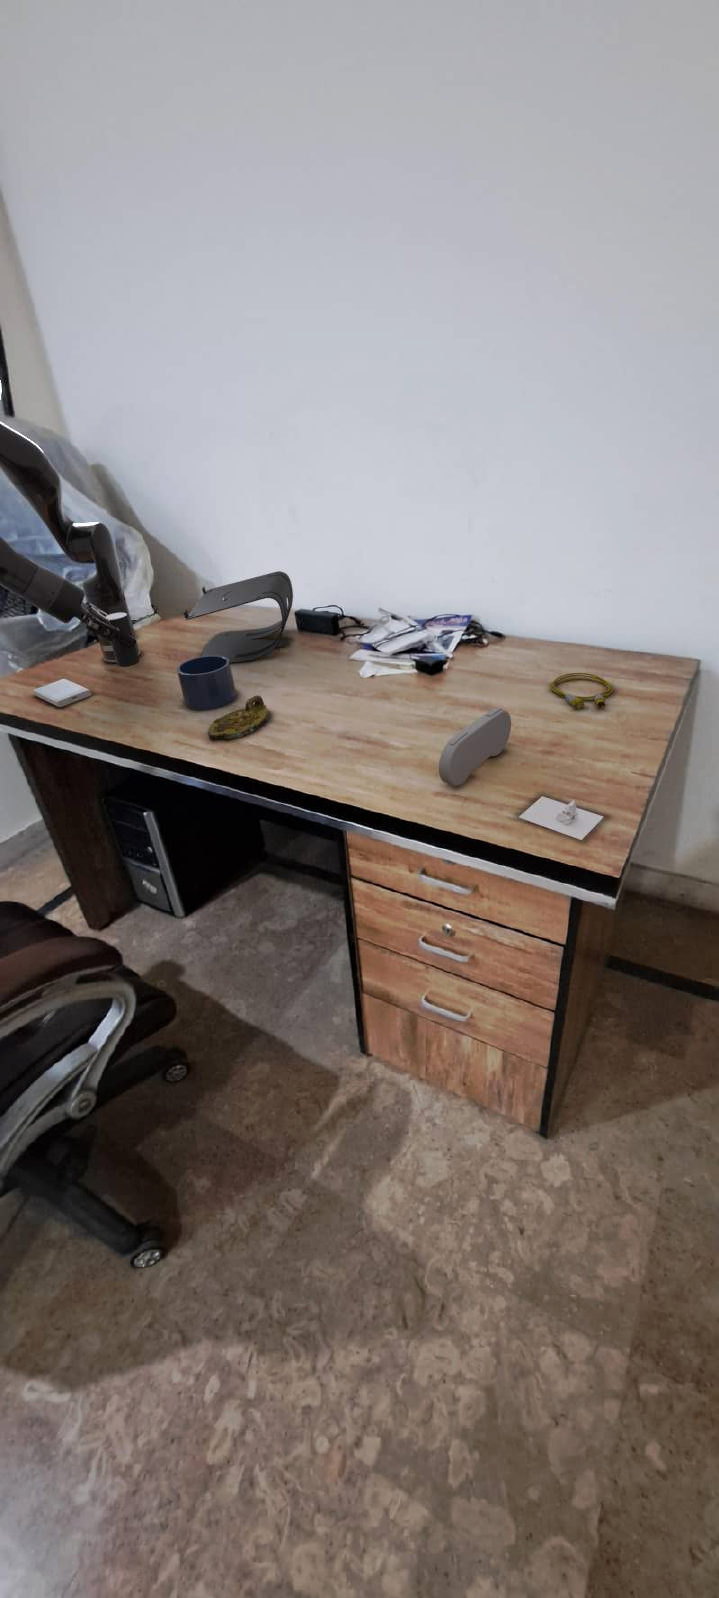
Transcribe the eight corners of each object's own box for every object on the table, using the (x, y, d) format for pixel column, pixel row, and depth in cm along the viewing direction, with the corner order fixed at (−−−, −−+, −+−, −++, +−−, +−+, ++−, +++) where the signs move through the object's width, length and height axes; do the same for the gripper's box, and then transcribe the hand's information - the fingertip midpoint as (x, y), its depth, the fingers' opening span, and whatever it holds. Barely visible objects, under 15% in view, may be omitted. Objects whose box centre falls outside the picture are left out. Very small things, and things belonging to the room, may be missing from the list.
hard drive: (32, 689, 158) (56, 701, 151) (65, 677, 163) (90, 688, 155) (34, 696, 159) (59, 708, 151) (67, 684, 164) (92, 695, 156)
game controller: (499, 742, 121) (500, 699, 116) (510, 745, 119) (512, 702, 115) (437, 790, 109) (436, 745, 104) (449, 794, 107) (448, 748, 103)
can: (180, 696, 151) (172, 662, 147) (229, 684, 155) (222, 651, 150) (190, 714, 142) (182, 679, 138) (241, 701, 146) (235, 666, 141)
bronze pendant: (229, 751, 129) (281, 719, 138) (226, 729, 126) (280, 698, 136) (195, 736, 133) (248, 706, 143) (192, 715, 130) (246, 686, 140)
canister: (116, 661, 143) (102, 615, 137) (138, 657, 144) (125, 610, 139) (118, 668, 139) (104, 621, 134) (141, 663, 140) (128, 616, 135)
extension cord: (538, 705, 132) (539, 695, 131) (560, 675, 143) (560, 666, 142) (602, 713, 127) (603, 704, 126) (620, 682, 138) (621, 672, 137)
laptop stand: (288, 659, 165) (279, 596, 157) (193, 667, 166) (179, 604, 158) (298, 626, 187) (290, 569, 178) (214, 632, 188) (202, 576, 180)
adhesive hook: (570, 827, 97) (572, 809, 96) (553, 821, 99) (555, 804, 97) (580, 818, 99) (582, 800, 97) (563, 812, 101) (565, 794, 99)
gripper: (64, 585, 123) (147, 635, 134) (60, 570, 135) (137, 617, 145) (43, 619, 125) (127, 666, 135) (41, 601, 136) (119, 646, 146)
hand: (132, 640), depth 140 cm, fingers closed on canister, 4 cm apart
